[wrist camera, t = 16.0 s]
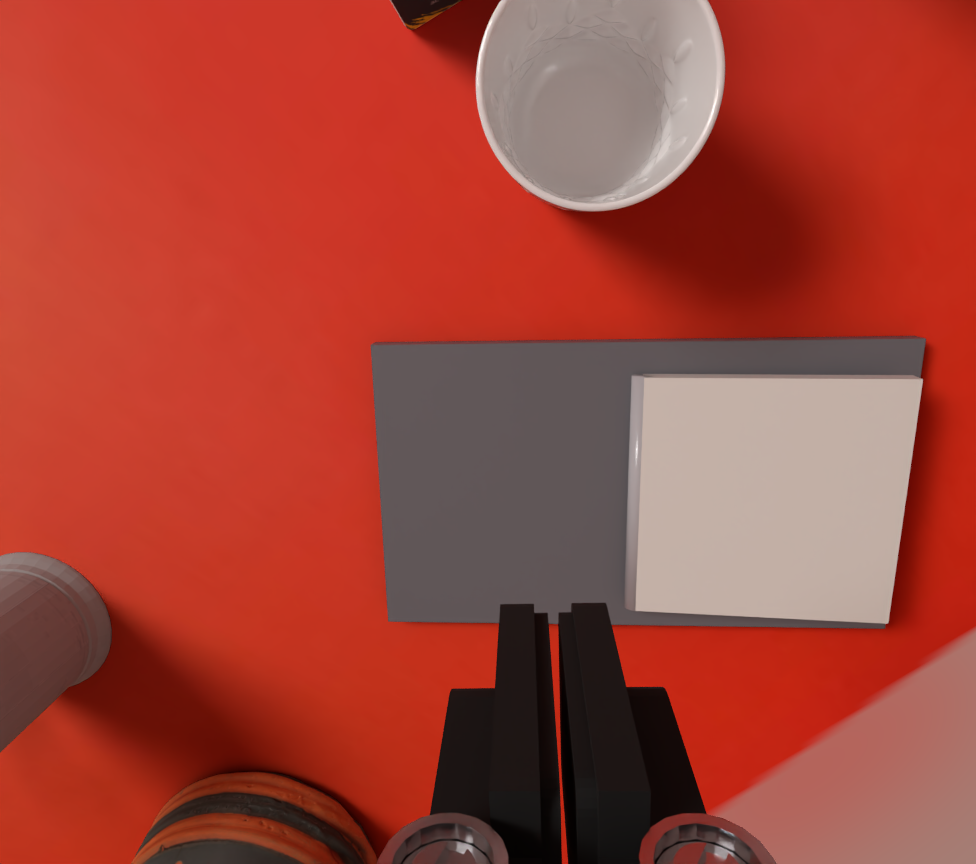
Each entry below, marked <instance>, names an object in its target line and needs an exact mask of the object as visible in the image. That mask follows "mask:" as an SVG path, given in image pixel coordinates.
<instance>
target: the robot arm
mask: <svg viewBox="0 0 976 864" xmlns="http://www.w3.org/2000/svg"><path fill="white" fill-rule="evenodd" d="M558 626H559V677H560V729H561V769H562V786H563V799H564V812H565V826H566V839H567V853H568V864H776V862H775V860H774V859H773V857H772V856H771V855H770V853H769V852H768V851H767V849H766V848H765V847H764V846H763V844H762V843H761V842H760V841H759V840H758V839H757V838H755V837H754V836H753V835H751V834H750V833H749V832H748V831H746V830H745V829H743V828H742V827H740V826H738V825H736V824H734V823H732V822H730V821H727V820H726V819H723V818H720V817H716V816H711V815H707V814H706V811H705V808H704V805H703V801H702V798H701V795H700V792H699V789H698V786H697V783H696V780H695V777H694V774H693V771H692V768H691V765H690V762H689V758H688V755H687V752H686V749H685V746H684V743H683V740H682V737H681V734H680V731H679V728H678V725H677V722H676V718H675V715H674V712H673V709H672V706H671V703H670V700H669V697H668V694H667V692H666V690H665V688H663V687H626V684H625V680H624V676H623V672H622V667H621V663H620V659H619V655H618V650H617V646H616V642H615V638H614V633H613V629H612V625H611V621H610V617H609V612H608V608H607V604H606V603H571V612H559V613H558ZM377 864H562V852H561V806H560V783H559V766H558V752H557V738H556V724H555V709H554V695H553V681H552V666H551V652H550V638H549V623H548V613H534V604H500V617H499V633H498V649H497V666H496V682H495V688H480V689H451V691H450V695H449V701H448V707H447V713H446V719H445V726H444V732H443V738H442V744H441V750H440V756H439V762H438V769H437V775H436V781H435V787H434V793H433V799H432V806H431V812H430V816H426V817H422V818H419V819H417V820H416V821H414V822H412V823H410V824H408V825H406V826H404V827H403V828H402V829H401V830H400V831H399V832H397V833H396V834H395V835H394V836H393V837H392V838H391V839H390V840H389V842H388V843H387V845H386V846H385V848H384V850H383V851H382V853H381V855H380V857H379V859H378V862H377Z"/></svg>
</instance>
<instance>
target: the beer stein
mask: <svg viewBox="0 0 976 864" xmlns="http://www.w3.org/2000/svg"><path fill="white" fill-rule="evenodd" d="M377 862H378V859H377V857H376V854H375V852H374V850H373V848H372V846H371V844H370V842H369V839H368V837H367V835H366V834H365V832H364V830H363V828H362V826H361V824H359V823H358V822H357V821H356V820H353V818H352V817H351V816H350V815H349V813H348V812H347V811H346V810H345V809H344V808H343V807H342V806H341V805H340V803H339V802H338V801H337V800H336V799H334V798H333V797H331V796H330V795H328V794H325V793H324V792H322V791H321V790H318V789H315V788H313V787H311V786H308V785H306V784H304V783H303V782H302V781H300V780H298V779H296V778H292V777H289V776H286V775H283V774H277V773H272V772H236V773H226V774H220V775H215V776H211V777H208V778H205V779H203V780H199V781H197V782H195V783H193V784H191V785H189V786H187V787H186V788H184V789H182V790H181V791H180V792H179V793H177V794H176V795H175V796H174V797H172V798H171V799H170V800H169V801H168V802H167V803H166V804H165V805H164V807H163V808H162V809H161V811H160V812H159V814H158V815H157V817H156V818H155V820H154V822H153V825H152V827H151V829H150V830H149V832H148V834H147V836H146V837H145V839H144V841H143V843H142V845H141V846H140V848H139V850H138V852H137V854H136V856H135V858H134V860H133V861H132V863H131V864H377Z"/></svg>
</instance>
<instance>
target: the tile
mask: <svg viewBox="0 0 976 864" xmlns="http://www.w3.org/2000/svg"><path fill="white" fill-rule="evenodd" d="M922 384H923V379H921V378H919V377H916V376H914V375H772V374H634V375H632V378H631V408H630V438H629V468H628V497H627V527H626V557H625V587H624V607H625V608H626V609H628V610H631V611H647V612H666V613H686V614H706V615H726V616H745V617H765V618H785V619H804V620H824V621H844V622H863V623H883V624H888V622H889V615H890V608H891V601H892V594H893V587H894V580H895V573H896V566H897V559H898V552H899V545H900V538H901V531H902V524H903V517H904V510H905V503H906V496H907V489H908V482H909V475H910V468H911V461H912V454H913V447H914V440H915V433H916V426H917V419H918V412H919V405H920V398H921V391H922Z"/></svg>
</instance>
